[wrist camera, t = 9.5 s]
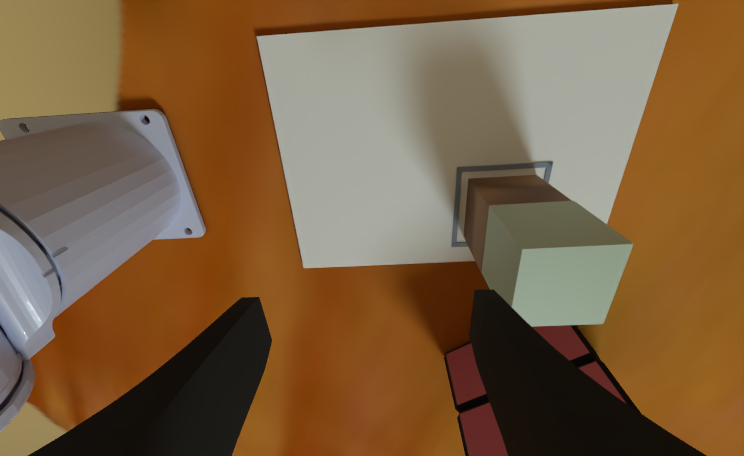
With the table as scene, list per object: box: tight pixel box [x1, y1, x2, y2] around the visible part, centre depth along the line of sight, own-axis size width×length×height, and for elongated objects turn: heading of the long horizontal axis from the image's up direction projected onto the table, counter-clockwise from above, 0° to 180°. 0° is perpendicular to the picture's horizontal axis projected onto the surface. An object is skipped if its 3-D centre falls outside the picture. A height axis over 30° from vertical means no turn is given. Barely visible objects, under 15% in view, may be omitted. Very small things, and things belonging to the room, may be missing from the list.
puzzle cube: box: [444, 325, 640, 456], centre depth 22 cm, size 10×10×10 cm
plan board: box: [257, 4, 678, 268], centre depth 18 cm, size 20×14×1 cm
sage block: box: [482, 201, 633, 327], centre depth 14 cm, size 4×4×4 cm
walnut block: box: [463, 175, 572, 273], centre depth 18 cm, size 4×4×4 cm
